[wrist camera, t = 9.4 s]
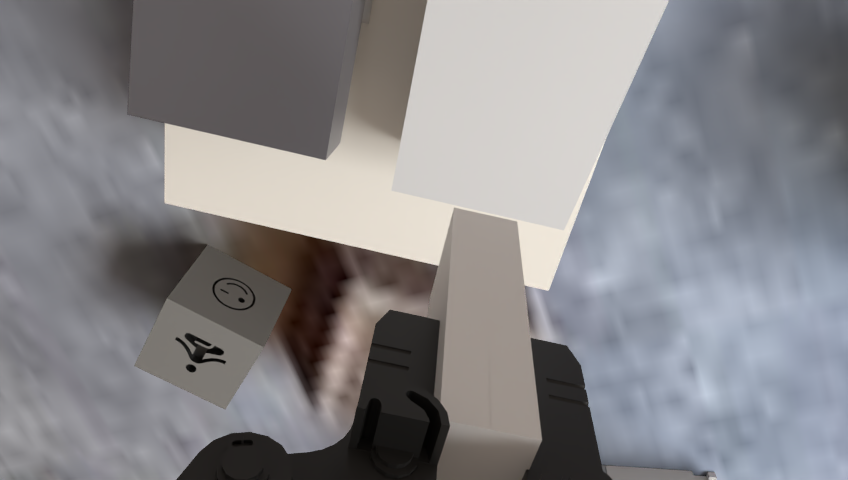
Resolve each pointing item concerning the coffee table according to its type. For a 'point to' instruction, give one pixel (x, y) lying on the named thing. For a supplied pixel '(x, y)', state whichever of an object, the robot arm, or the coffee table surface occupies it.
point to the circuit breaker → (652, 474)
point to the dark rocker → (247, 68)
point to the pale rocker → (518, 101)
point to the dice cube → (213, 327)
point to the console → (345, 166)
